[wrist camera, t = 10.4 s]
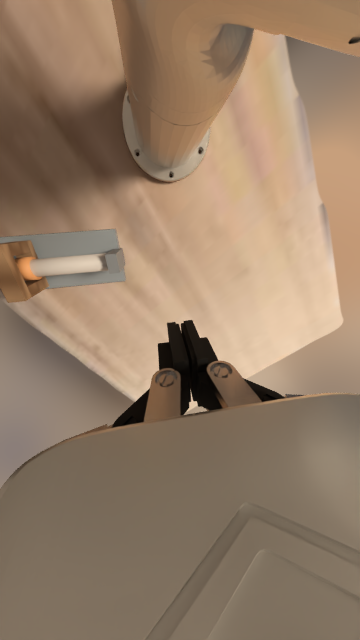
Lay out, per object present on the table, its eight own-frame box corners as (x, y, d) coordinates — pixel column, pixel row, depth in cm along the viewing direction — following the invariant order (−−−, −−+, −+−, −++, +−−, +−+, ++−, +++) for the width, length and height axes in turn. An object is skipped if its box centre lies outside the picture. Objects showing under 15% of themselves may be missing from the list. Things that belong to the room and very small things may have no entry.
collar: (14, 241, 30) (-23, 246, 23) (30, 240, 30) (-2, 244, 24) (35, 287, 33) (8, 302, 27) (49, 286, 33) (25, 300, 27)
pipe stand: (-13, 238, 31) (-59, 242, 24) (119, 228, 33) (111, 230, 26) (14, 290, 35) (-20, 306, 28) (129, 279, 37) (124, 292, 30)
